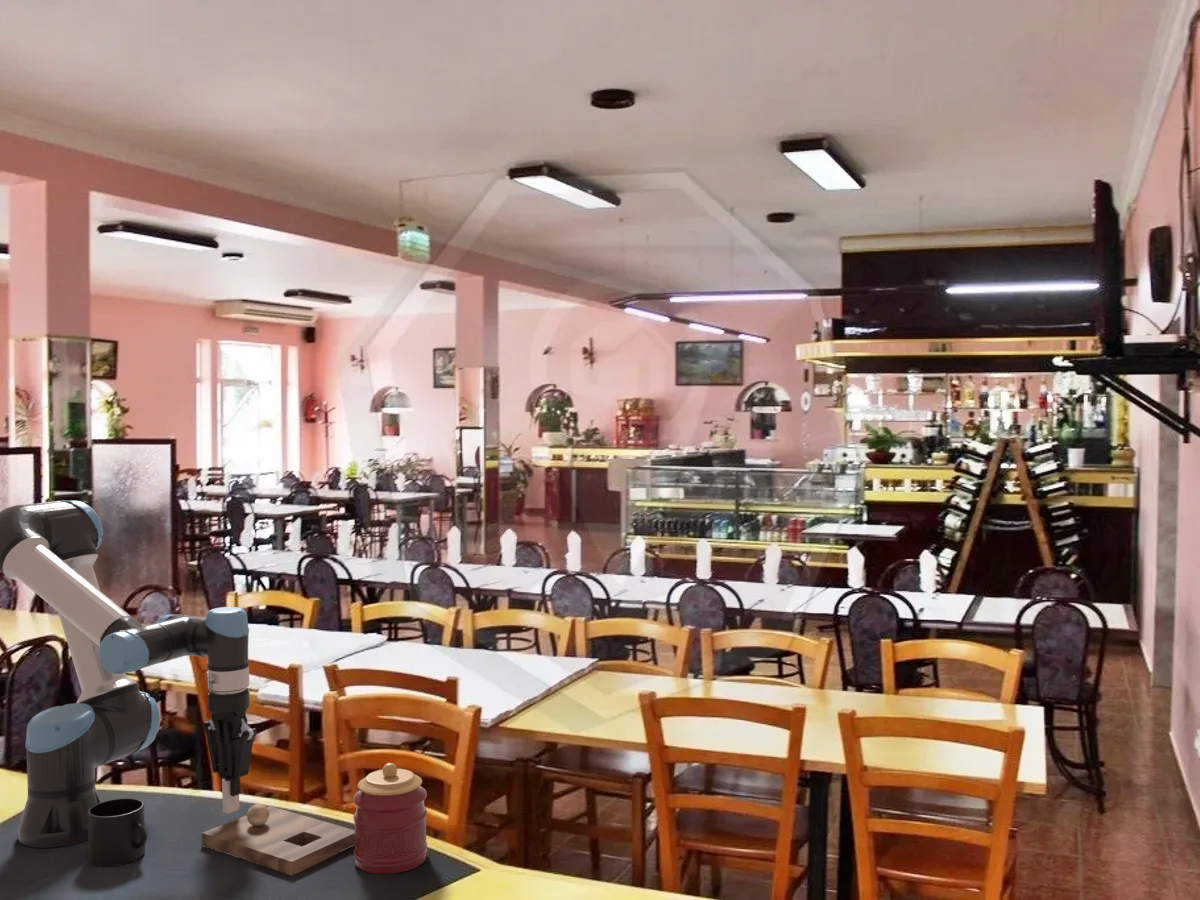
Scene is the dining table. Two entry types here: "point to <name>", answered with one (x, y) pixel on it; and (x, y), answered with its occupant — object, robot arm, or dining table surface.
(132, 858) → the mug
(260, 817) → the ball
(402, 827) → the canister
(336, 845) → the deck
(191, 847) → the dining table surface
